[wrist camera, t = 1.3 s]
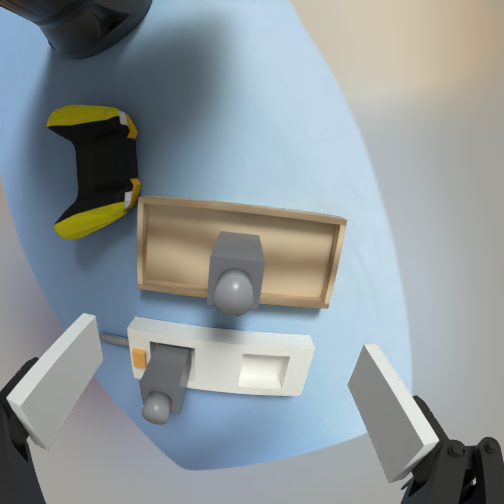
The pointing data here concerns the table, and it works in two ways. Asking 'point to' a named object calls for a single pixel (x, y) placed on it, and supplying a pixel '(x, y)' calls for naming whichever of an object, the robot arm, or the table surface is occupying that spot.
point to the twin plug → (165, 382)
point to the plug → (235, 273)
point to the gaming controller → (98, 166)
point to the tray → (239, 221)
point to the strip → (225, 356)
